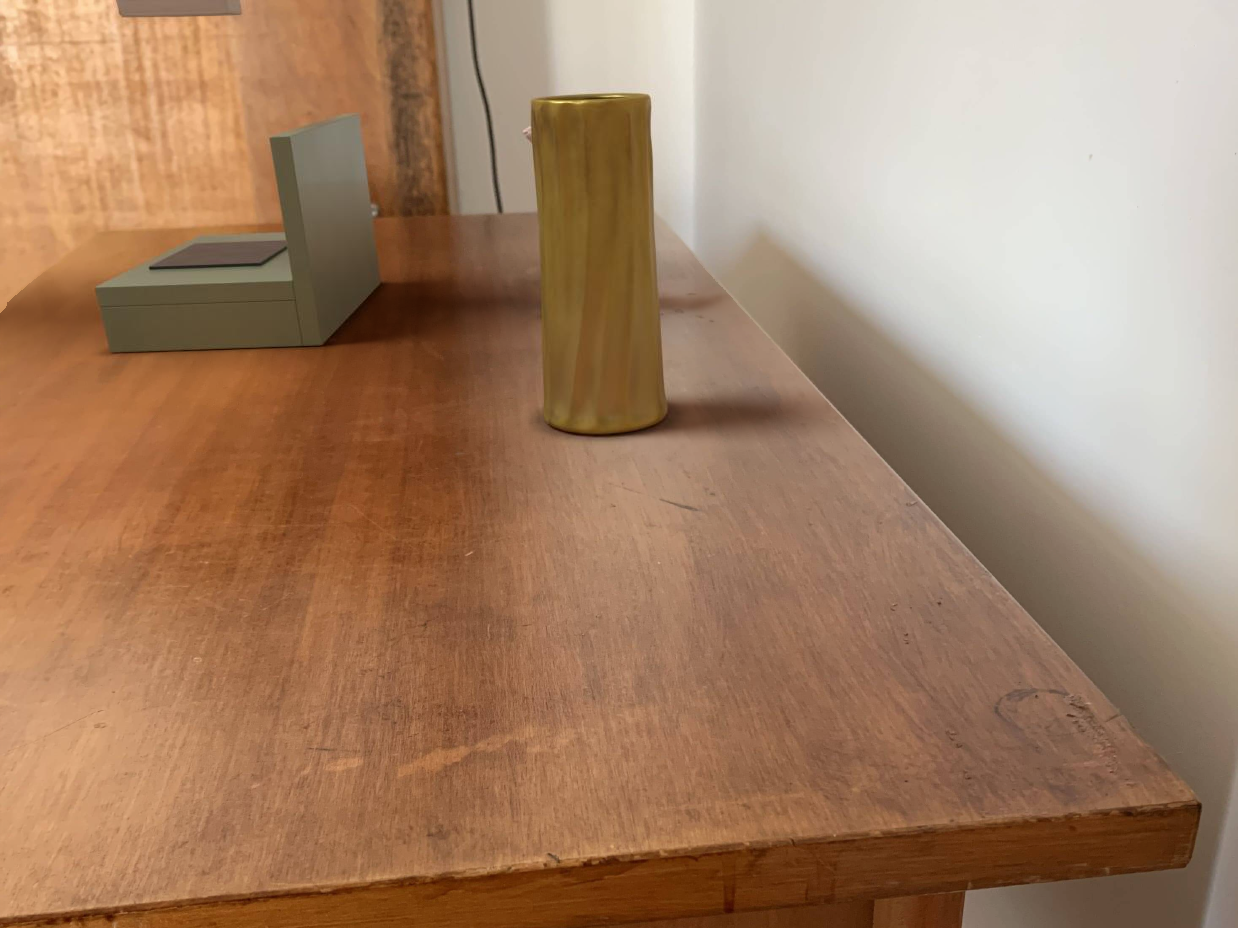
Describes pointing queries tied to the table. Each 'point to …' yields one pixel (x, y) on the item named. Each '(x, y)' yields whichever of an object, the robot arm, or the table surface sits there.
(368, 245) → the green l-shaped stand
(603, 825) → the table surface
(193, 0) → the small box
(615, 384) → the vase
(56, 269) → the table surface
